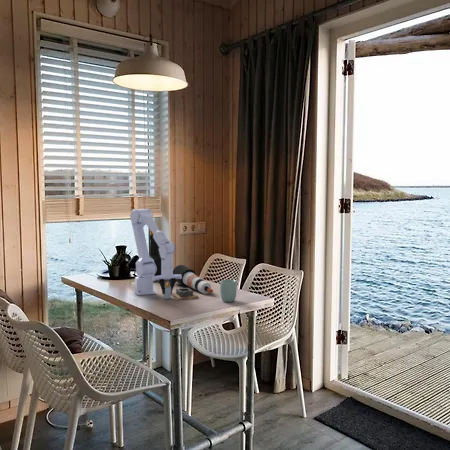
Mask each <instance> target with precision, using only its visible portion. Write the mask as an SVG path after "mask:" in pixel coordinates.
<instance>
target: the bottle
mask: <svg viewBox="0 0 450 450" xmlns="http://www.w3.org/2000/svg"><path fill="white" fill-rule="evenodd" d="M153 235H154V234H153V233H152V231H151V230H150V229H149V234H148V239H149V240H150V241H149V248H148V252H149V257H151V258H152V259H153V260H154V263H155V265H156V267H157V271H156V273H155V276H158V275H161V257H160V253H159V246H158V244H157V243H156V241H155V240H154V238H153ZM143 264H147V263H143ZM155 281H158V280H155ZM155 281H154V282H155Z"/></svg>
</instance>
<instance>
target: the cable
mask: <svg viewBox="0 0 450 450" xmlns="http://www.w3.org/2000/svg"><path fill="white" fill-rule="evenodd" d="M173 274H181V275H182V279H176V283H178V284H180V285H181V286H182V287H183V288H190V289H193V290H195V291H198V292H200V293H202V294H204V295H206V294H208V293H209V294H212V293H214V290H213V289H212V286H211V284H210V283H209V282H208V281H206V280H204V279H203V278H201V277H200V276H198V275H197V273H196V271H195V270H193V269H191V268H189V267H188V266H185V265H184V264H179V265H177V266H175V267H173Z"/></svg>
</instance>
